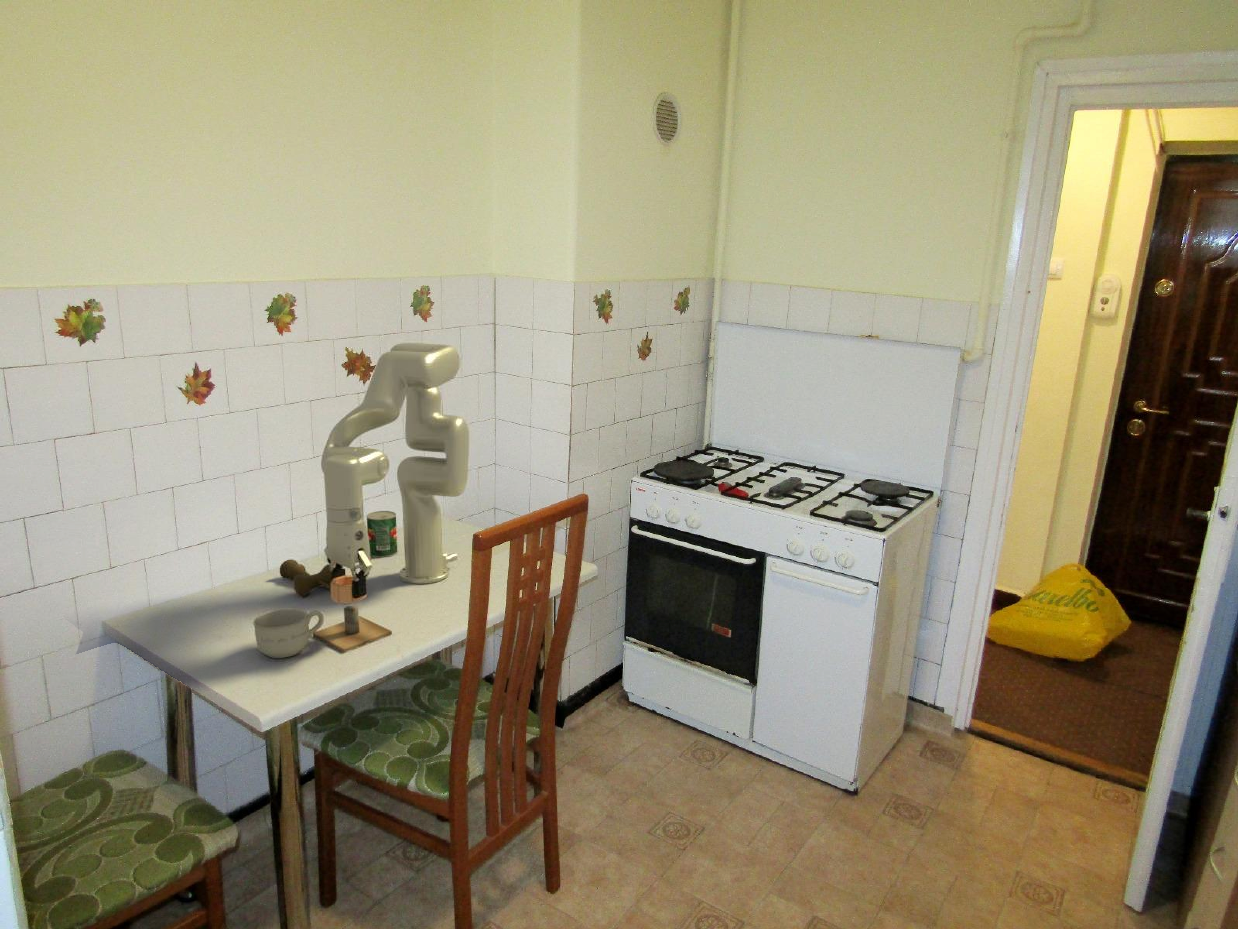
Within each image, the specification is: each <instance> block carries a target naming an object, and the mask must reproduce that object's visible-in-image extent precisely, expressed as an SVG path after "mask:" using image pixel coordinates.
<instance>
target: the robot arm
mask: <svg viewBox="0 0 1238 929" xmlns="http://www.w3.org/2000/svg"><path fill="white" fill-rule="evenodd" d="M460 365H461V359H460V355H459V352H458V350H457V349H456V348H455V347H454V346H452V345H450V344H441V343H440V344H437V343H436V344H435V343H417V342H404V343H398V344H397V343H396V344H395V345H393V346H392V347H391V348H390V351H386V352H384V353H382V355H380V357H379V358H378V360H377V362H376V365H375V368H374V370H373V372H372V373H373V374H372V376H371V379H370V381H369V384H368V387H367V389H366V392H365V395H364V398H363V400H362V403H360V404H359V405H358V406H357V407H355V408H354V409H352V410H351V411H349V412H348V413H347V414H346V415H345V416H343V418H341V419H340V420H339V421H338V422H337V423H336V424H335V425H334V426H333V428H332V429H331V431H330V434H329V436H328V437H327V441H326V443H325V446H324V449H323V451H322V456H321V462H320V464H321V465H320V466H321V467H320V468H321V470H322V473H323V479H324V495H325V498H324V499H325V510H326V511H325V513H326V530H325V532H326V534H325V535H326V536H325V537H326V538H325V540H326V541H325V542H326V543H325V544H326V546H325V548H324V549H323V550H324V551H323V552H324V553H325V554H324V555H325V556H326V558H327V559H326V560H327V563H328V564H329V565H330V566H329V569H330V571H333V572H331V580H333V579H334V578H338V577H341V576H344V575H347V573H346V568H347V569H350V572H351V575H352V576H353V579H354V580H353V581H352V595H353V598H355V599H356V598H359V597H362V596H365V595H366V594H368V592H367V591H368V590H367V579H368V576H369V575H370V572H371V570H372V568H373V565H372V563H371V560H372V558H371V557H372V556H370V546H369V538H368V532H367V523H366V520H364V519H365V518H364V500H363V498H364V497H363V495H364V494H363V486H366V485H371V484H372V485H373V484H376V483H378V482H381V481H382V480H383V479H385V478H386V476H387V475H388V472H389V471H390V470H389V469H390V460H389V458H388V455H387V454H386V453H385V452H383V451H382V450H380V449H376V448H370V447H369V448H367V447H355V446H351V444H352V443H353V442H354V440H356V439H357V438H359V437H360V436H362V435H363V434H365V433H368V432H370V431H372V430H375V429H379V428H381V427H384V426H386V425H388V424H391V423H394V422H396V421H397V419H398V418H399V416H400V414H401V411H402V408H403V406H404V401H405V399H406V401H405V404H406V405H405V429H404V430H405V432H404V436H405V442H406V445H407V447H408V448H410V449H411V450H415V451H420V452H429V453H431V452H432V453H440V454H441V453H444V454H445V457H435V456H423V455H421V456H420V455H415V456H409V457H405V458H404V459H402V460H401V461H400V463H399V464H398V466H397V470H396V477H397V478H396V479H397V483H398V487H399V491H400V496H401V504H402V522H403V523H402V525H403V545H404V567H403V568H402V569H400V571H399V572H398V573H399V578H400V580H402V581H404V582H406V583H411V584H420V585H421V584H430V583H431V584H432V583H436V582H439V581H442V580H444V579H446V578H447V577H448V576H449V575H450V569H449V567H448V566H447V565H449V563H452V562H455V561H457V560H458V555H457V554H456V553H455V552H454V553H451V554H448V555H447V553H443V533H442V531H443V530H442V510H441V506H440V503H439V500H437V498H436V496H437V497H438V496H439V497H449V498H451V497H452V498H453V497H459V496H461V495H463V494H464V492H465V490H466V488H467V484H468V475H469V473H468V472H469V457H470V456H469V454H470V453H469V451H470V450H469V449H470V430H469V426H468V424H467V422H466V420H465V419H464V418H463V417H461V416H460V415H459V416H458V415H455V414H454V415H453V414H442V411H441V410H442V395H441V391H440V389H439V387H440V386H442V385H443V384H446V383H448V382H450V381H452V380H453V379H454V378H455V377H456V376H457V375H458V372H459V369H460ZM356 564H357V565H356ZM358 569H359V571H358V572H357V570H358ZM366 596H367V595H366Z"/></svg>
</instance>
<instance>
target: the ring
mask: <svg viewBox="0 0 1238 929" xmlns="http://www.w3.org/2000/svg"><path fill="white" fill-rule="evenodd" d="M353 580H354V579H353V576H352V574H346V575H344V576H341V577H338V578H334V579H333V580H332V582H331V583H330V584H331V587H330V598H331V600H332V601H335V602H336V603H339V604H345V603H346V604H347V603H348V604H349V603H356V602H360V601H361V600H362V601H363V600H364V599H365V598H366V597H367V596H368V595H367V594H368V593H367V594H366V595H365V596H362V597H359V598H356V599H355V598H353V595H352V581H353Z"/></svg>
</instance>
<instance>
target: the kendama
mask: <svg viewBox="0 0 1238 929" xmlns="http://www.w3.org/2000/svg"><path fill="white" fill-rule="evenodd" d="M329 566H330V565H329V563H328V564H325V565H324V566H323V568H322V569H321V570H320V571H319V572H317V573H313V574H310V573H308V571H306V566H304V565H303V564H300V563H298V562H297V560H295V559H287V560H284V561H283V562H282V563H281V564H280V567H279V574H280V576H281V577H282V579H285V578H289V580H291V581H293V582H292V583H293V584H292V585H293V589H294V591H295V593H296V594H297V595H298V596H299V597H301V598H304V597H307V595H308V594H310V592H311V591H313V590H315V589H317V588H320V587H324V588H327V589H331V584H330V583H331V582H332V580H331V572H333V571H330V569H329Z"/></svg>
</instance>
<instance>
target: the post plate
mask: <svg viewBox="0 0 1238 929" xmlns="http://www.w3.org/2000/svg"><path fill="white" fill-rule="evenodd" d="M359 614H360V613H359V606H357V605H347V606H345V607H344V608H343V618H344V621H343V622H340V623H336V624H334V625H331V626H329V627H326V628H325V627H324V628H323V629H318V630H317V631H316V632H315V633H313V634H312V637H314V638H315V639H318V640H319V639H320V641H321V640H322V641H321V642H323V641H324V643H325V644H327V643H328V644H327V645H329V644H330V645H329V646H331V647H333V648H334V647H335V649H336V648H337V649H336V650H339V651H340V650H341V651H340V652H342V653H345V654H346V653H348V652H350V651H349V650H351V651H352V650H355V649H358V648H360V647H363V646H365V644H366V645H368V644H367V643H369V644H370V643H374V642H375V641H374V640H376V641H379V640H381V639H380V638H382V639H384V638H386V637H389V636H392V635H393V631H392V630H391V629H388V628H385V627H384V626H382V625H380V624H377V622H376V623H375V622H374V621H372V620H369V619H367V618H365V617H363V616H361V615H359ZM391 634H392V635H391ZM383 637H384V638H383ZM378 639H379V640H378ZM373 641H374V642H373ZM357 647H358V648H357ZM347 651H348V652H347Z"/></svg>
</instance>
